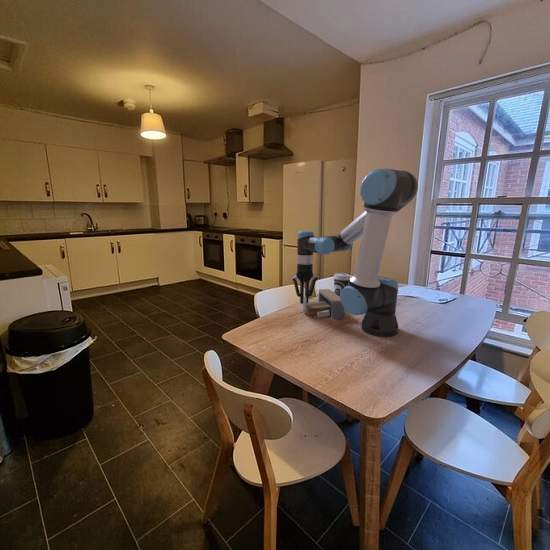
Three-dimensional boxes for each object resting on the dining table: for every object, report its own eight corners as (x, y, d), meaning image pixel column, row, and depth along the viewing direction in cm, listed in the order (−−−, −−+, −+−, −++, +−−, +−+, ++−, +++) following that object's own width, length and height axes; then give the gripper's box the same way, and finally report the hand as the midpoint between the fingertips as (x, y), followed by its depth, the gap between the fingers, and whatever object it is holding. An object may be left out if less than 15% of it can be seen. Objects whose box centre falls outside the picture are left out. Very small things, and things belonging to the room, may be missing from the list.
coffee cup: (351, 302, 162) (352, 276, 159) (333, 302, 162) (334, 276, 159) (347, 297, 171) (348, 272, 168) (330, 297, 171) (331, 272, 168)
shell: (330, 314, 145) (331, 306, 144) (307, 316, 143) (307, 308, 142) (324, 308, 154) (324, 301, 153) (302, 309, 152) (302, 302, 151)
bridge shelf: (343, 317, 140) (344, 300, 138) (319, 319, 138) (320, 301, 136) (328, 304, 160) (329, 289, 158) (307, 305, 157) (307, 290, 155)
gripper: (315, 261, 146) (314, 306, 151) (290, 262, 143) (289, 307, 149) (320, 264, 139) (318, 311, 144) (293, 265, 136) (293, 312, 141)
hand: (303, 309), depth 146 cm, fingers closed
